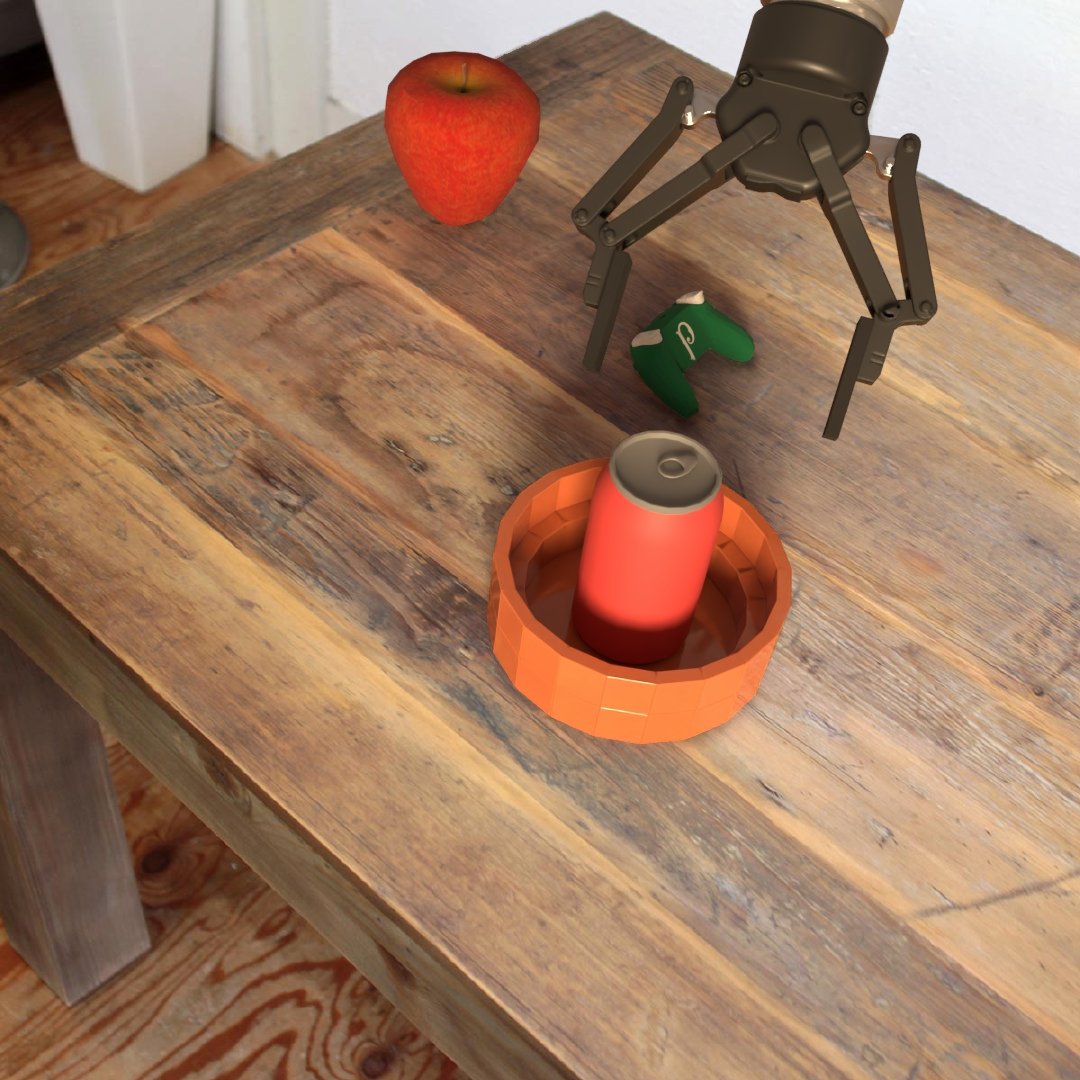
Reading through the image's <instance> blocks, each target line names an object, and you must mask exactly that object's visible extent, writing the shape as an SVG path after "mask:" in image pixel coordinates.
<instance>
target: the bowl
mask: <svg viewBox="0 0 1080 1080" xmlns="http://www.w3.org/2000/svg"><path fill="white" fill-rule="evenodd" d="M610 457H611V456H610ZM610 457H609V456H608V457H594V458H593V457H592V458H587V459H585V460H582V461H578V462H576V463H573V464H569V465H566V466H563V467H560V468H556V469H553V470H550V471H548V472H547V473H546V474H544V475H543V476H541V477H540V478H539V479H537V480H536V481H534V482H533V483H531V484H530V485H529V486H527V487H526V488H524V489H522V490H521V491H520V492H519V494H518V495H517V497H516V498H515V500H513V502H512V503H511V505H510V507H509V508H508V509H507V511H506V512H505V513H504V515H503V516H502V518H501V519H500V522H499V525H498V530H497V533H496V539H495V545H494V549H493V554H492V561H491V562H492V563H491V572H490V580H489V587H488V588H489V590H488V597H487V598H488V599H487V608H486V617H485V618H486V622H487V628H488V633H489V639H490V643H491V648H492V652H493V655H494V656H495V658H496V660H497V661H498V663H499V664H500V665H501V668H502V669H503V670H504V672H505V674H506V675H507V677H508V678H509V680H510V682H511V683H512V686H513V687H514V688H515V689H517V691H519V692H520V694H522V695H523V696H525V698H527V699H528V700H530V702H532V703H533V704H534V705H536V706H537V708H539V709H540V710H541V711H542V712H544V713H545V714H546V715H547V716H549V717H550V718H552V719H554V720H556V721H558V722H561V723H563V724H565V725H568V726H569V727H572V728H574V729H576V730H579V731H581V732H582V733H585V734H587V735H589V736H593V737H595V738H602V739H607V740H615V741H620V742H626V743H631V744H637V745H646V744H655V743H656V744H657V743H666V742H675V741H684V740H685V741H686V740H688V739H690V738H693V737H695V736H697V735H700V734H703V733H704V732H707V731H709V730H712V729H715V728H716V727H719V726H721V725H723V724H725V723H727V722H728V721H730V720H731V719H732V718H733V717H734V716H735V715H736V714H737V713H738V712H739V711H740V710H741V709H742V708H743V707H744V706H746V705H747V704H748V703H749V702H750V701H751V700H752V699H753V698H755V696H756V694H757V692H758V690H759V688H760V685H761V684H762V681H763V679H764V676H765V674H766V672H767V670H768V668H769V666H770V662H771V661H772V657H773V655H774V652H775V649H776V647H777V644H778V642H779V639H780V637H781V634H782V631H783V628H784V626H785V624H786V620H787V618H788V615H789V613H790V611H791V607H792V604H793V569H792V566H791V563H790V561H789V558H788V555H787V554H786V551H785V547H784V545H783V544H782V540H781V538H780V536H779V534H778V533H777V532H776V531H775V529H774V528H773V527H772V526H771V524H770V523H769V522H768V520H766V519H765V517H764V516H763V515H762V513H760V511H759V510H758V509H757V508H756V507H755V505H754V504H752V503H751V502H750V501H749V500H748V499H746V498H744V497H743V496H742V495H740V494H738V492H736V491H734V490H733V489H731V488H730V487H729V486H727V485H726V484H725V483H723V482H721V487H722V492H723V496H724V509H723V516H722V522H721V526H720V529H719V533H718V536H717V539H716V543H715V546H714V550H713V553H712V556H711V560H710V563H709V566H708V570H707V573H706V577H705V580H704V583H703V587H702V590H701V594H700V597H699V600H698V604H697V607H696V610H695V614H694V617H693V621H692V624H691V627H690V631H689V634H688V636H687V638H686V639H685V641H684V642H683V644H682V646H681V647H680V648H679V649H677V650H676V651H675V652H673V653H672V654H671V655H669V656H668V657H667V658H664V659H661V660H658V661H655V662H652V663H646V664H628V663H624V662H619V661H614V660H611V659H609V658H607V657H605V656H603V655H601V654H599V653H597V652H596V651H595V650H593V649H592V648H591V647H590V646H589V645H588V644H587V643H586V642H584V641H583V639H582V637H581V636H580V634H579V632H578V631H577V629H576V627H575V626H574V622H573V617H572V611H571V608H572V603H573V597H574V592H575V587H576V581H577V576H578V571H579V565H580V560H581V554H582V549H583V544H584V538H585V533H586V528H587V522H588V517H589V511H590V506H591V501H592V495H593V491H594V486H595V482H596V479H597V477H598V475H599V473H600V472H601V470H602V469H603V468H604V466H605V465H606V464H607V462H608V461H609V460H610Z"/></svg>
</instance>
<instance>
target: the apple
mask: <svg viewBox="0 0 1080 1080" xmlns="http://www.w3.org/2000/svg"><path fill="white" fill-rule="evenodd" d="M541 115H542V114H541V102H540V97H539V96H538V95H537V94H536V92H535V91H534V90H533V89H532V88H531V87H530V86H529V85H528V84H527V82H526V81H525V80H524V79H523V78H522V76H520V74H519V73H518V72H517V71H516V70H514V69H513V68H511V67H510V66H508V65H507V64H506V63H504V62H503V61H501V60H500V59H496V58H493V57H491V56H488V55H485V54H483V53H480V52H471V51H457V50H451V51H439V52H438V51H435V52H430V53H428V54H425V55H422V56H421V57H418V58H416V59H413V60H412V61H410V62H409V63H408V64H407V65H405V66H404V67H403V68H401V69H399V71H398V72H397V73H396V74H395V76H394V77H393V78H392V79H391V81H390V82H389V84H388V85H387V89H386V96H385V106H384V120H383V128H384V130H385V133H386V137H387V141H388V144H389V146H390V150H391V152H392V157H393V158H394V163H395V164H396V166H397V168H398V170H399V171H400V173H401V175H402V177H403V179H404V180H405V183H406V184H407V186H408V188H409V190H410V193H411V194H412V196H413V197H414V200H415V201H416V203H417V205H418V207H420V208H421V209H422V210H424V211H425V212H427V214H430V215H431V216H432V217H434V218H435V219H436V220H437V221H438V222H440V223H441V224H444V225H447V226H450V227H461V226H465V225H469V224H471V223H475V222H478V221H481V220H484V219H485V218H487V217H489V216H490V215H492V214H493V213H495V212H496V211H497V209H498V208H499V206H501V204H502V203H503V201H504V200H505V198H506V197H507V196H508V194H509V193H510V192H511V191H512V189H513V188H514V186H515V184H516V182H517V181H518V179H519V177H520V175H521V173H522V171H523V170H524V167H525V166H526V164H527V162H528V160H529V159H530V157H531V155H532V154H533V152H534V150H535V148H536V146H537V144H538V142H539V140H540V130H541V129H540V128H541V117H542V116H541Z"/></svg>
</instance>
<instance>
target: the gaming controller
mask: <svg viewBox="0 0 1080 1080" xmlns="http://www.w3.org/2000/svg"><path fill="white" fill-rule="evenodd" d="M703 293H704V290H703V289H701V290H695V291H691V292H688V293H685V294H683V295H681V296H680V297H678V298H677V299H676V300H675V303H673V304H672V305H670V306H669V307H667V308H666V309H665V310H664V311H662V312H661V313H660V314H659V315H658V316H656V317H655V318H654V319H653V320H652V321H651V322H650V323H649V324H648V325H647V326H646V327H645V328H644V329H643V331H641V332H640V333H638V334H637V335H636V336H634V338H633V339H632V341H631V343H630V344H629V353H630V357H631V360H632V367H633V369H634V371H635V372H637V375H638V376H639V378H641V380H642V381H643V383H644V384H645V385H646V387H647V388H648V389H649V390H650V391H651V392H652V394H654V396H655V397H657V398H658V399H659V400H660V401H661V402H662V403H663V404H664V405H665V406H666V407H667V408H669V409H670V410H671V411H673V412H674V413H675V414H677V415H678V416H680V417H681V418H682V419H684V420H688V419H689V418H691V417H692V416H694V415H696V414H697V413H699V411H700V406H699V401H698V399H697V395H696V393H695V390H694V388H693V386H692V384H691V383H690V381H689V380H688V379H687V377H686V375H685V374H684V373H685V372H686V371H688V370H689V369H690V368H691V367H692V366H693V365H694V364H695V363H696V362H697V361H699V359H700V358H701V357H702V356H703V355H704V354H705V353H706V352H707V351H708V350H710V351H712V352H715V353H717V354H719V355H720V356H723V357H725V358H727V359H729V360H732V361H734V362H738V363H739V362H740V363H746V362H748V361H750V360H751V359H752V358H753V356H754V354H755V349H756V345H755V341H754V338H753V337H752V336H751V335H750V333H749V332H748V331H747V330H746V328H744V327H743V326H742V325H741V324H739V323H738V322H737V321H735V320H734V319H732V317H730V316H728V315H727V314H725V313H723V312H722V311H720V310H719V309H718V308H716V307H714V306H713V305H712V303H710V302H709V301H708V299H707V298H706V297H705V296H704V294H703Z"/></svg>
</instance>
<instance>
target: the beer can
mask: <svg viewBox="0 0 1080 1080" xmlns="http://www.w3.org/2000/svg"><path fill="white" fill-rule="evenodd" d="M722 481H723V472H722V469H721V466H720V463H719V461H718V459H717V458H716V457H715V456H714V454H713V453H712V452H711V450H710V449H708V448H707V447H706V446H704V445H703V444H701V442H699V441H697V440H695V439H694V438H691V437H689V436H686V435H685V434H682V433H680V432H679V433H678V432H673V431H668V430H645V431H641V432H638V433H633V434H630V435H629V436H627V437H626V438H624V439H622V440H621V441H619V442H618V443H617V444H616V446H615V447H614V448H613V449H612V450H611V452H610V460H609V461H608V462H607V464H606V465H605V466H604V468H603V469H602V470H601V472H600V473H599V475H598V477H597V479H596V482H595V486H594V491H593V495H592V501H591V506H590V511H589V517H588V522H587V528H586V533H585V538H584V544H583V549H582V554H581V560H580V565H579V571H578V576H577V581H576V587H575V592H574V597H573V603H572V608H571V611H572V617H573V622H574V626H575V627H576V629H577V631H578V632H579V634H580V636H581V637H582V639H583V641H584V642H586V643H587V644H588V645H589V646H590V647H591V648H592V649H593V650H595V651H596V652H597V653H599V654H601V655H603V656H605V657H607V658H609V659H611V660H614V661H619V662H624V663H628V664H646V663H652V662H655V661H658V660H661V659H664V658H667V657H668V656H669V655H671V654H672V653H673V652H675V651H676V650H677V649H679V648H680V647H681V646H682V644H683V642H684V641H685V639H686V638H687V636H688V634H689V631H690V627H691V624H692V621H693V617H694V614H695V610H696V607H697V604H698V600H699V597H700V594H701V590H702V587H703V583H704V580H705V577H706V573H707V570H708V566H709V563H710V560H711V556H712V553H713V550H714V546H715V543H716V539H717V536H718V533H719V529H720V526H721V522H722V516H723V509H724V496H723V492H722V487H721V483H723V482H722Z"/></svg>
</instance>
